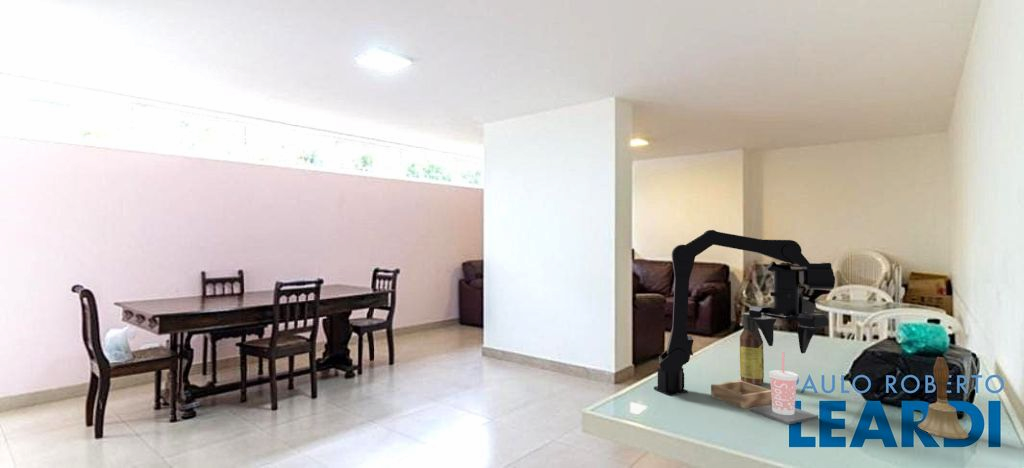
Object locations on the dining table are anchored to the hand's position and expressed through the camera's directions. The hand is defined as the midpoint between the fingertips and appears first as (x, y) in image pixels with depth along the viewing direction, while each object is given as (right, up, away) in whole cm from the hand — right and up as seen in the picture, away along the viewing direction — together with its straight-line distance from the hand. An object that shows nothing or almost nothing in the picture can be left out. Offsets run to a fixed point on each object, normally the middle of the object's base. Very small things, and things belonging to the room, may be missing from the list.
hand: (786, 349), depth 129 cm
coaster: (-6, -13, -11) cm, 18 cm away
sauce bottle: (-1, -13, +16) cm, 21 cm away
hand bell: (+22, -13, -21) cm, 33 cm away
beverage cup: (-6, -13, -10) cm, 18 cm away
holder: (-11, -13, 0) cm, 17 cm away
